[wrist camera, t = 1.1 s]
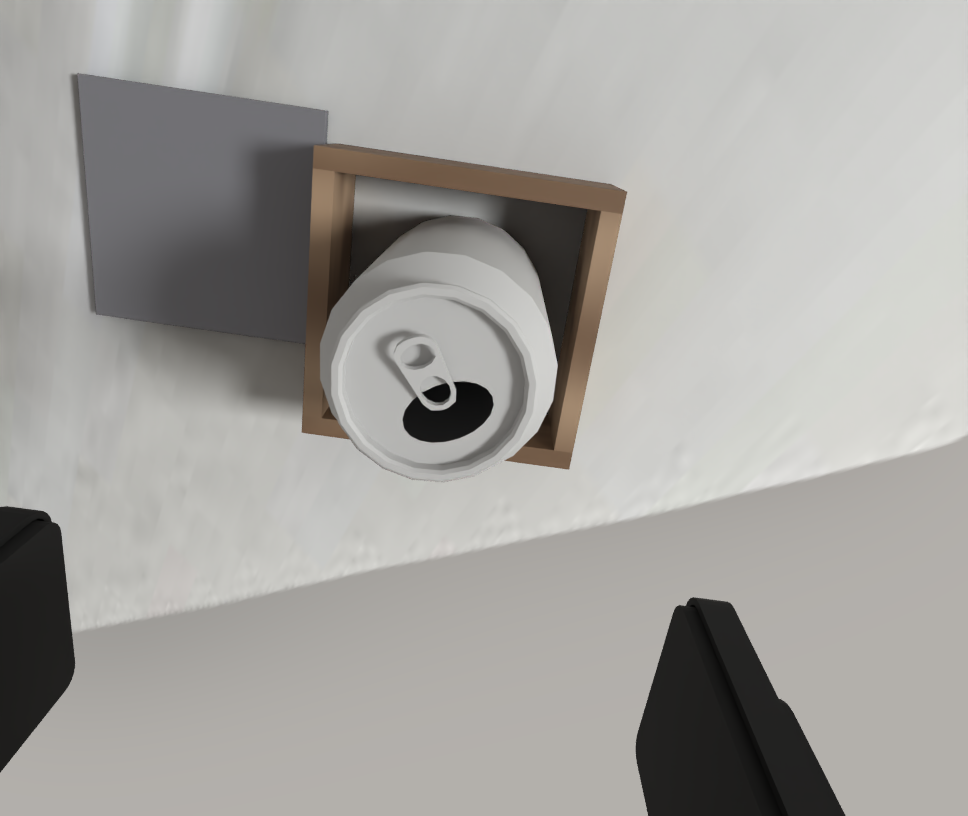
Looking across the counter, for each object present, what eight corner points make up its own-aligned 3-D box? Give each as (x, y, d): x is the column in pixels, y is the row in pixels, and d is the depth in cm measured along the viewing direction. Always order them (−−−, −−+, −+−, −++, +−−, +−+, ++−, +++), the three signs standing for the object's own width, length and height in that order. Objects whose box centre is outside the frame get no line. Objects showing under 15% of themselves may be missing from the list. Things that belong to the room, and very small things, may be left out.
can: (417, 398, 33) (371, 534, 22) (348, 251, 30) (257, 320, 19) (564, 343, 31) (596, 458, 20) (505, 185, 29) (505, 218, 18)
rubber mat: (84, 74, 28) (77, 73, 27) (328, 110, 28) (325, 110, 28) (102, 311, 32) (96, 314, 31) (317, 342, 32) (314, 345, 31)
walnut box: (338, 143, 28) (313, 145, 25) (611, 184, 29) (627, 192, 25) (324, 398, 33) (301, 432, 29) (561, 431, 33) (569, 469, 29)
